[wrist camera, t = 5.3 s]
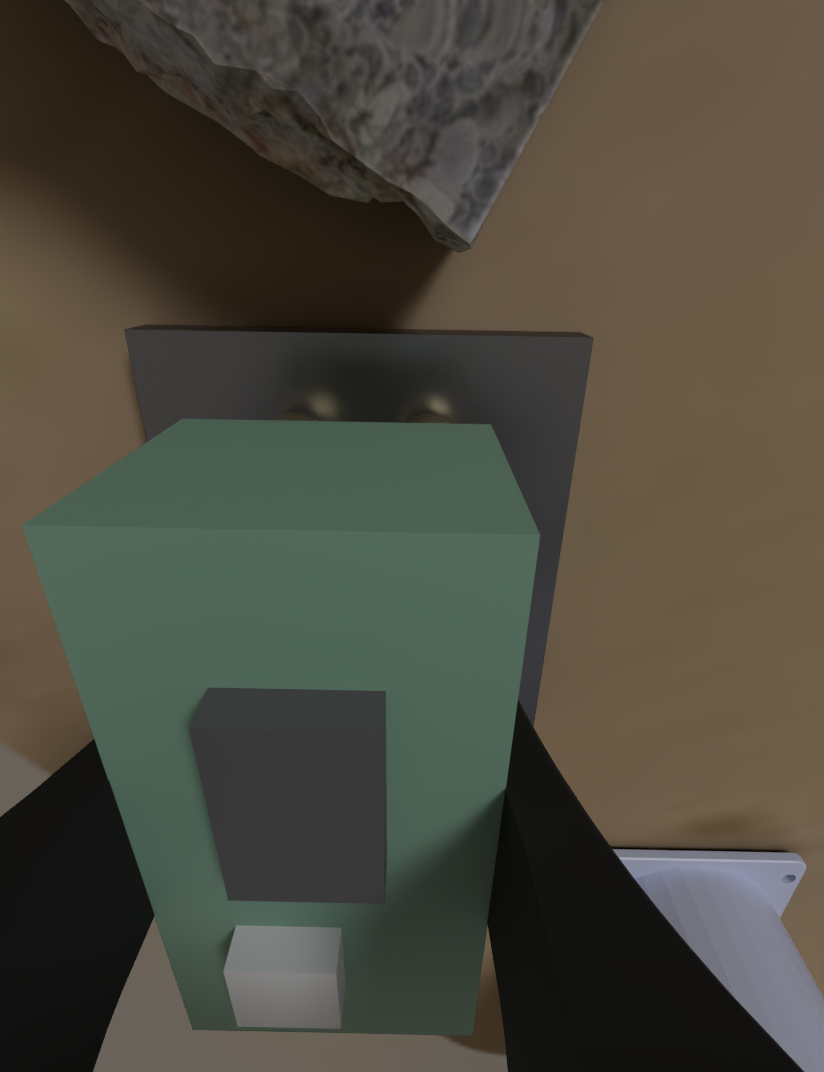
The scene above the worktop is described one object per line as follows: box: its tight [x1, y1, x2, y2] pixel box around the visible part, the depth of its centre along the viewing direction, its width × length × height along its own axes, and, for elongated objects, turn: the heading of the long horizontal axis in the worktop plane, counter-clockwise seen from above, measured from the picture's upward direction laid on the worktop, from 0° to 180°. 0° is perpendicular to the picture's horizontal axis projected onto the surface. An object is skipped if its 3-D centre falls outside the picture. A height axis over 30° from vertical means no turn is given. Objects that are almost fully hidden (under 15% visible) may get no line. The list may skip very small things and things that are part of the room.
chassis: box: [124, 325, 593, 726], centre depth 13 cm, size 12×10×4 cm
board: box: [22, 419, 540, 1036], centre depth 9 cm, size 10×5×5 cm, turn 179°
